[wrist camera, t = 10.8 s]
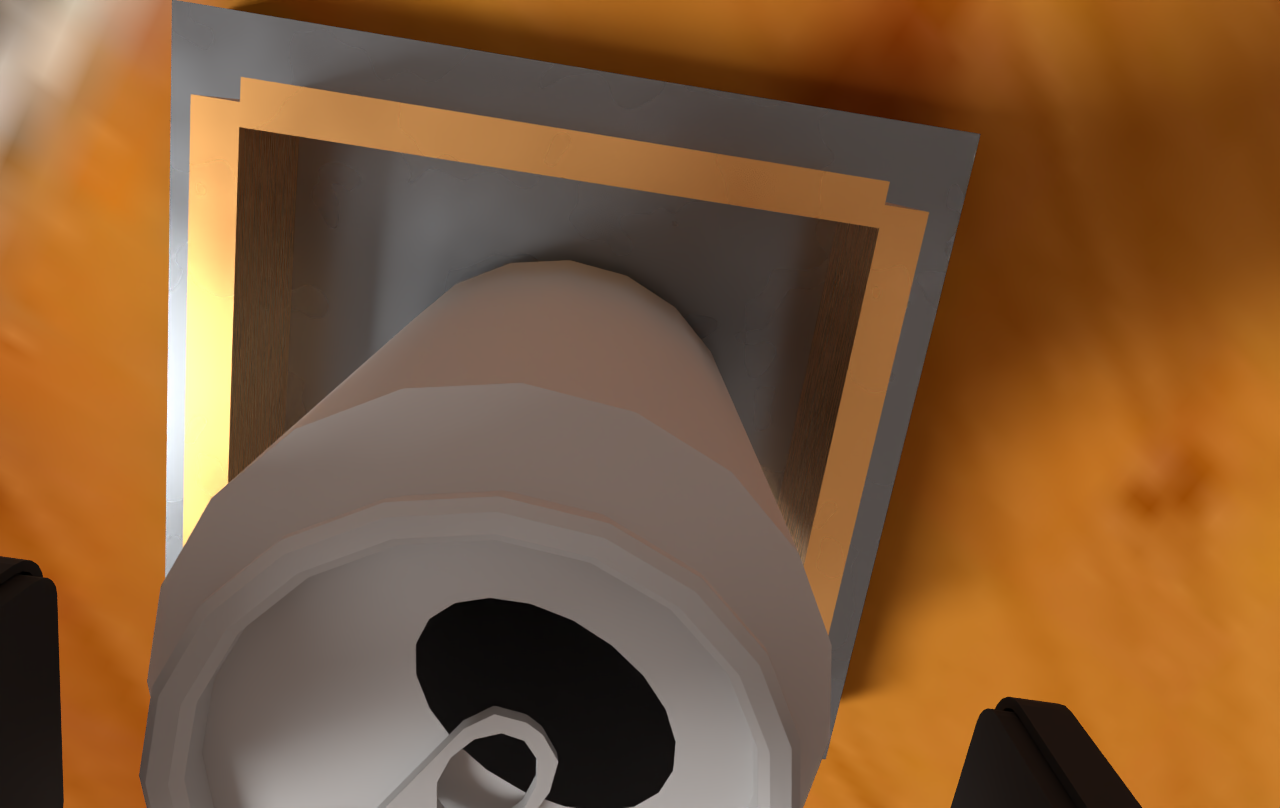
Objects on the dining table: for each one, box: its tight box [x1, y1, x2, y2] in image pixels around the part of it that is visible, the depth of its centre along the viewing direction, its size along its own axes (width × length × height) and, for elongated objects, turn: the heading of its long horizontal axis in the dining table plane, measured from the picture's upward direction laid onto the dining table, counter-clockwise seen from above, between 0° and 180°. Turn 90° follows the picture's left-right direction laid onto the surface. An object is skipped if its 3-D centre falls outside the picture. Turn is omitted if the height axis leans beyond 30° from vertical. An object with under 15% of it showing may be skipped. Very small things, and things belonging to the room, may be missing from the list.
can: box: [139, 260, 832, 808], centre depth 14 cm, size 8×8×12 cm
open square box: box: [165, 0, 980, 759], centre depth 19 cm, size 16×15×5 cm
